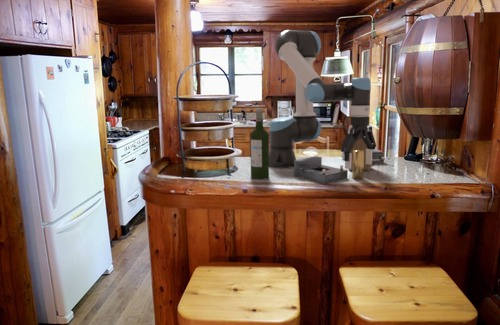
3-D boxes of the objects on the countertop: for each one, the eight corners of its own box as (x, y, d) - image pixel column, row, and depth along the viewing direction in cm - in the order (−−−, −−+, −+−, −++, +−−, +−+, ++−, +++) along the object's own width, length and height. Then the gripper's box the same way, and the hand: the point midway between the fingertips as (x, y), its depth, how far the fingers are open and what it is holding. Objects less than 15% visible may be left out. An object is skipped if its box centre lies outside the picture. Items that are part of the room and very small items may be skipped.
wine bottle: (270, 175, 177) (270, 107, 171) (266, 179, 170) (266, 109, 163) (253, 174, 179) (252, 107, 173) (249, 178, 171) (247, 109, 165)
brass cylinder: (350, 178, 170) (351, 150, 167) (356, 176, 172) (357, 149, 170) (358, 180, 166) (359, 152, 164) (365, 178, 169) (366, 150, 166)
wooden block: (370, 171, 182) (372, 127, 178) (348, 170, 184) (349, 127, 180) (368, 166, 192) (370, 125, 188) (347, 165, 194) (348, 124, 190)
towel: (340, 159, 211) (340, 144, 210) (373, 157, 213) (373, 143, 212) (350, 165, 196) (351, 149, 195) (385, 163, 199) (386, 148, 197)
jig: (294, 175, 176) (294, 160, 174) (316, 171, 184) (316, 156, 182) (324, 183, 161) (325, 167, 160) (347, 178, 170) (347, 162, 168)
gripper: (347, 118, 153) (346, 172, 157) (386, 114, 168) (384, 163, 172) (332, 117, 159) (331, 169, 163) (371, 113, 174) (369, 161, 178)
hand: (358, 166), depth 168 cm, fingers open, 13 cm apart
